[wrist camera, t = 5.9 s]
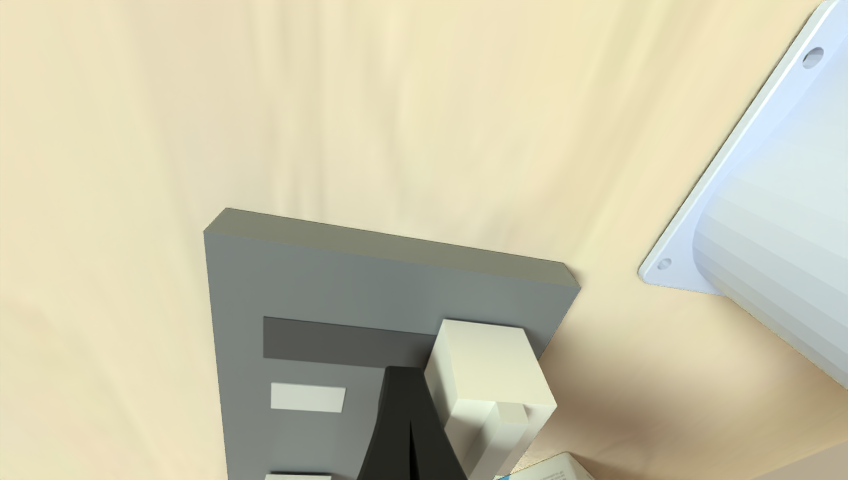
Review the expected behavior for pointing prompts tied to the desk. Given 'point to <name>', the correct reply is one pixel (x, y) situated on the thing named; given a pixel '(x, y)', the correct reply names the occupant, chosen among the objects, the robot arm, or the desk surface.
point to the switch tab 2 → (487, 395)
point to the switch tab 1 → (296, 477)
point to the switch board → (344, 329)
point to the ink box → (553, 470)
